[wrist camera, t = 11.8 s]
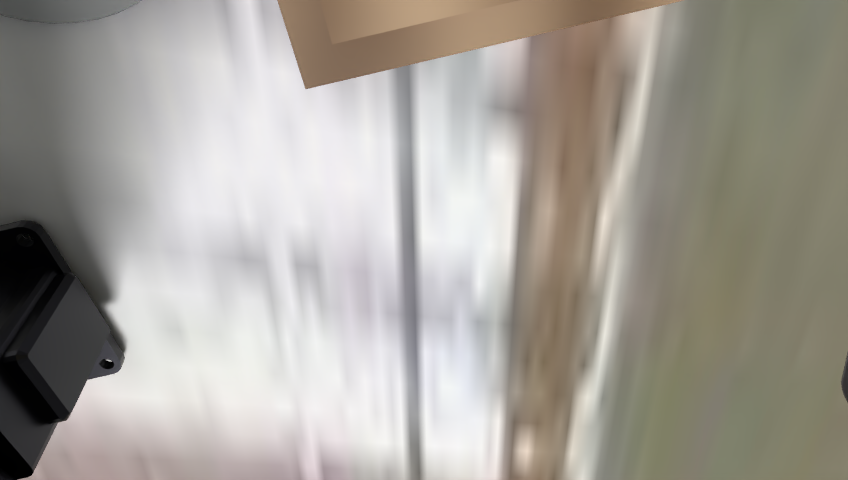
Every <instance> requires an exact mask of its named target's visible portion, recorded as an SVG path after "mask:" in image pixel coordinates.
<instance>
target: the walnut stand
mask: <svg viewBox="0 0 848 480" xmlns="http://www.w3.org/2000/svg"><path fill="white" fill-rule="evenodd" d="M679 1H683V0H278V4H279V7H280V10H281V13H282V16H283V19H284V23H285V26H286V29H287V32H288V35H289V38H290V41H291V45H292V48H293V51H294V54H295V57H296V60H297V63H298V67H299V70H300V73H301V76H302V79H303V82H304V86H305V89H308V88H313V87H317V86H321V85H325V84H330V83H334V82H338V81H343V80H347V79H351V78H355V77H360V76H364V75H368V74H372V73H377V72H381V71H385V70H389V69H394V68H398V67H402V66H406V65H411V64H415V63H419V62H423V61H428V60H432V59H436V58H440V57H445V56H449V55H453V54H458V53H462V52H466V51H470V50H475V49H479V48H483V47H487V46H492V45H496V44H500V43H504V42H509V41H513V40H517V39H521V38H526V37H530V36H534V35H538V34H543V33H547V32H551V31H555V30H560V29H564V28H568V27H573V26H577V25H581V24H585V23H590V22H594V21H598V20H602V19H607V18H611V17H615V16H619V15H624V14H628V13H632V12H636V11H641V10H645V9H649V8H653V7H658V6H662V5H666V4H670V3H675V2H679Z"/></svg>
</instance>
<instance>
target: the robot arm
mask: <svg viewBox="0 0 848 480" xmlns="http://www.w3.org/2000/svg"><path fill="white" fill-rule="evenodd" d="M22 234H27V235H30V236H31V237H32V238H33V240H28V239H26V238H25V237H23V236H22ZM124 358H125V357H124V354H123V352H122V351H121V349H120V348H119V346H118V344H117V343H116V341H115V340H114V338H113V336H112V335H111V333H110V328H109V326H108V325H107V323H106V322H105V320H104V318H103V317H102V315H101V314H100V312H99V311H98V309H97V307H96V306H95V304H94V303H93V301H92V299H91V298H90V296H89V295H88V293H87V291H86V290H85V288H84V287H83V285H82V284H81V282H80V280H79V279H78V278H77V277H76V276H75V275H74V274H73V273H72V272H71V270H70V269H69V267H68V265H67V264H66V262H65V261H64V259H63V258H62V256H61V254H60V253H59V251H58V250H57V248H56V247H55V245H54V243H53V242H52V240H51V239H50V237H49V235H48V234H47V232H46V231H45V229H44V228H43V227H42V226H41V225H39V224H37V223H36V222H32V221H19V222H15V223H10V224H6V225H2V226H0V480H17V479H22V478H26V477H29V476H31V475H32V474H33V472H34V470H35V468H36V466H37V464H38V462H39V460H40V458H41V456H42V454H43V452H44V450H45V448H46V446H47V444H48V442H49V440H50V438H51V436H52V434H53V431H54V429H55V427H56V425H57V423H58V422H62V421H66V420H67V419H68V418H69V416H70V414H71V412H72V410H73V408H74V406H75V404H76V402H77V400H78V398H79V396H80V394H81V392H82V389H83V387H84V385H85V383H86V381H87V380H88V379H92V378H97V377H101V376H106V375H110V374H114V373H116V372H118V371H119V370H120V369H121V367H122V365H123V362H124ZM105 359H109V360H111V361H113V362H109V361H106V360H105ZM841 384H842V390H843V394H844V396H845V398H846V400H847V402H848V353H847V358H846V362H845V367H844V371H843V375H842V381H841Z"/></svg>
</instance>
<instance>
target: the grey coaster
mask: <svg viewBox="0 0 848 480" xmlns="http://www.w3.org/2000/svg"><path fill="white" fill-rule="evenodd" d="M140 1H142V0H0V15H3V16H7V17H12V18H17V19H21V20H26V21H33V22H43V23H78V22H84V21H90V20H96V19H100V18H103V17H106V16H109V15H113V14H116V13H119V12H121V11H123V10H125V9H127V8H129V7H131V6H133V5H135V4H137V3H139V2H140Z"/></svg>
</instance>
